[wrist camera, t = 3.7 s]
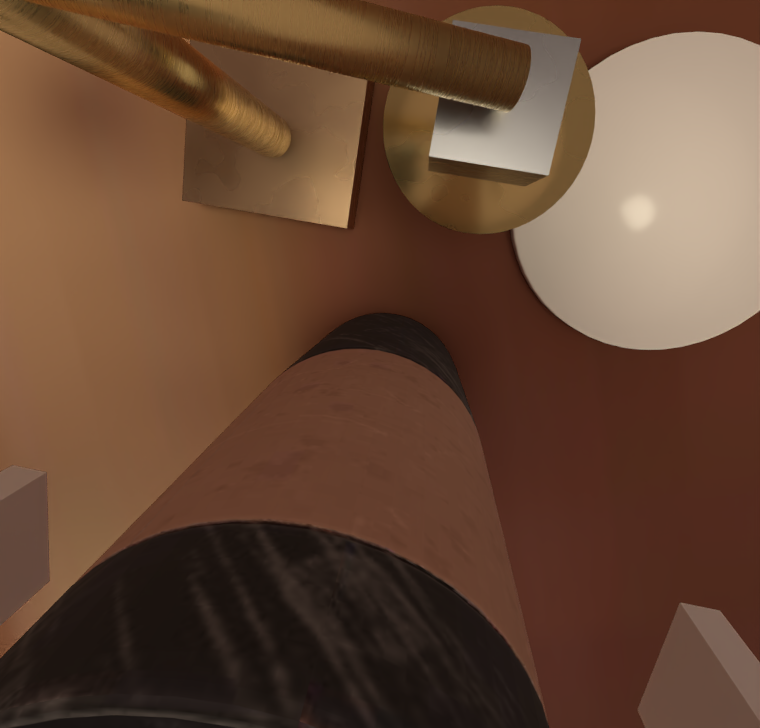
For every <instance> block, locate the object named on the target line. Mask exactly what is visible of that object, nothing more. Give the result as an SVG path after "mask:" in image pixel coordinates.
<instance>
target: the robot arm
mask: <svg viewBox="0 0 760 728" xmlns="http://www.w3.org/2000/svg"><path fill="white" fill-rule="evenodd" d="M49 581H50V579H49V541H48V503H47V472H43V471H39V470H34V469H29V468H24V467H19V466H14V465H12V466H10V467H8V468H6V469H5V470H3V471H1V472H0V625H1V624H2V623H4V622H5V621H6V620H7V619H8V618H9V617H10V616H11V615H12V614H14V613H15V612H16V611H17V610H18V609H19V608H20V607H21V606H22V605H23V604H25V603H26V602H27V601H28V600H29V599H30V598H31V597H32V596H33V595H34V594H36V593H37V592H38V591H39V590H40V589H41V588H42V587H43V586H44V585H46V584H47V583H48V582H49ZM638 712H639V714H640V717H641V719H642V721H643V724H644V726H645V728H760V663H759V661H758V660H757V659H756V657H755V656H754V655H753V653H752V652H751V651H750V649H749V648H748V647H747V645H746V644H745V643H744V641H743V640H742V639H741V638H740V636H739V635H738V634H737V632H736V631H735V630H734V628H733V627H732V626H731V624H730V623H729V622H728V620H727V619H726V618H725V617H724V615H723V614H722V613H721V611H719V610H714V609H709V608H704V607H699V606H695V605H690V604H685V603H680V604H679V606H678V609H677V612H676V614H675V617H674V619H673V622H672V624H671V627H670V629H669V632H668V634H667V637H666V639H665V642H664V644H663V647H662V649H661V652H660V654H659V657H658V659H657V662H656V664H655V667H654V670H653V672H652V675H651V677H650V680H649V682H648V685H647V687H646V690H645V692H644V695H643V697H642V700H641V702H640V705H639V707H638Z"/></svg>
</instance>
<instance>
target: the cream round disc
mask: <svg viewBox="0 0 760 728" xmlns="http://www.w3.org/2000/svg"><path fill="white" fill-rule="evenodd" d="M588 72H589V75H590V78H591V81H592V85H593V91H594V96H595V112H596V113H595V127H594V133H593V138H592V143H591V146H590V149H589V152H588V155H587V158H586V160H585V162H584V164H583V167H582V169H581V171H580V173H579V174H578V176H577V178H576V179H575V181H574V182H573V184H572V185H571V187H570V188H569V189H568V190H567V192H566V193H565V194H564V195H563V196H562V197H561V198H560V199H559V200H558V201H557V202H556V203H555V204H554V205H553V206H552V207H551V208H550V209H548V210H547V211H546V212H545V213H543V214H542V215H540V216H539V217H537V218H535V219H534V220H532V221H530V222H528V223H526V224H524V225H522V226H519V227H517V228H514V229H510V232H511V240H512V244H513V248H514V253H515V257H516V259H517V262H518V264H519V267H520V270H521V272H522V274H523V276H524V278H525V279H526V281H527V283H528V285H529V287H530V288H531V290H532V291H533V292H534V294H535V295H536V296H537V298H538V299H539V300H540V301H541V302H542V303H543V304H544V305H545V306H546V307H547V308H548V309H549V310H550V311H551V312H552V313H553V314H554V315H555V316H557V317H558V318H559V319H561V320H562V321H563V322H565V323H566V324H568V325H569V326H571V327H572V328H574V329H576V330H578V331H579V332H581V333H583V334H585V335H587V336H588V337H591V338H593V339H596V340H599V341H601V342H604V343H607V344H611V345H615V346H619V347H623V348H631V349H640V350H660V349H669V348H676V347H682V346H686V345H690V344H694V343H698V342H702V341H704V340H707V339H709V338H712V337H715V336H717V335H720V334H722V333H724V332H726V331H728V330H730V329H732V328H734V327H736V326H738V325H739V324H741V323H742V322H744V321H745V320H747V319H748V318H750V317H751V316H753V315H754V314H756V313H757V312H758V311H759V310H760V45H757V44H755V43H752V42H750V41H747V40H745V39H742V38H738V37H734V36H729V35H725V34H721V33H708V32H687V33H674V34H670V35H665V36H660V37H655V38H652V39H649V40H646V41H643V42H640V43H637V44H634V45H632V46H629V47H627V48H625V49H623V50H621V51H619V52H617V53H615V54H613V55H611V56H610V57H608V58H607V59H605V60H603V61H602V62H600V63H599V64H597V65H596V66H594V67H593V68H591V69H590V70H589V71H588Z"/></svg>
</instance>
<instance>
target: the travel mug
mask: <svg viewBox="0 0 760 728" xmlns="http://www.w3.org/2000/svg"><path fill="white" fill-rule="evenodd" d="M0 728H549V725H548V720H547V715H546V711H545V707H544V703H543V699H542V694H541V690H540V686H539V682H538V678H537V674H536V669H535V665H534V661H533V657H532V653H531V649H530V645H529V640H528V636H527V632H526V628H525V624H524V620H523V615H522V611H521V607H520V603H519V599H518V595H517V590H516V586H515V582H514V578H513V574H512V570H511V565H510V561H509V557H508V553H507V549H506V545H505V541H504V536H503V532H502V528H501V524H500V520H499V516H498V511H497V507H496V503H495V499H494V495H493V491H492V486H491V482H490V478H489V474H488V470H487V466H486V461H485V457H484V453H483V449H482V445H481V441H480V438H479V435H478V431H477V428H476V425H475V422H474V419H473V416H472V413H471V410H470V407H469V405H468V402H467V399H466V396H465V393H464V390H463V387H462V385H461V382H460V379H459V376H458V373H457V370H456V368H455V365H454V363H453V361H452V358H451V356H450V354H449V352H448V351H447V349H446V348H445V346H444V344H443V343H442V342H441V341H440V340H439V338H438V337H437V336H436V335H435V334H434V333H433V332H431V331H430V330H429V329H428V328H426V327H425V326H423V325H422V324H420V323H418V322H416V321H414V320H412V319H410V318H407V317H404V316H400V315H396V314H387V313H376V314H369V315H364V316H360V317H357V318H354V319H352V320H350V321H348V322H346V323H344V324H343V325H341V326H339V327H338V328H336V329H335V330H334V331H332V332H331V333H330V334H329V335H327V336H326V337H325V338H324V339H323V340H321V341H320V342H319V343H318V344H317V345H315V346H314V347H313V348H312V349H311V350H309V351H308V352H307V353H306V354H305V355H303V356H302V357H301V358H300V359H299V360H297V361H296V362H295V363H294V364H293V365H291V366H290V367H289V368H288V369H287V370H285V371H284V372H283V373H282V374H281V375H280V376H278V377H277V378H276V379H275V380H274V381H273V382H272V383H271V384H270V385H269V386H268V387H267V388H266V389H265V390H264V391H263V392H262V393H261V394H260V395H259V396H258V397H257V398H256V399H255V400H254V401H253V402H252V403H251V404H250V405H249V406H248V407H247V408H246V409H245V410H244V411H243V412H242V413H241V414H240V415H239V416H238V417H237V418H236V419H235V420H234V421H233V422H232V423H231V424H230V425H229V426H228V428H227V429H226V430H225V431H224V432H223V433H222V434H221V435H220V436H219V437H218V438H217V439H216V440H215V441H214V442H213V443H212V444H211V445H210V446H209V447H208V448H207V449H206V450H205V451H204V452H203V453H202V454H201V455H200V456H199V457H198V458H197V459H196V460H195V461H194V462H193V463H192V464H191V465H190V466H189V467H188V468H187V469H186V470H185V471H184V472H183V473H182V474H181V475H180V476H179V477H178V478H177V479H176V480H175V481H174V482H173V483H172V485H171V486H170V487H169V488H168V489H167V490H166V491H165V492H164V493H163V494H162V495H161V496H160V497H159V498H158V499H157V500H156V501H155V502H154V503H153V504H152V505H151V506H150V507H149V508H148V509H147V510H146V511H145V512H144V513H143V514H142V515H141V516H140V517H139V518H138V519H137V520H136V521H135V522H134V523H133V524H132V525H131V526H130V527H129V528H128V529H127V530H126V531H125V532H124V533H123V534H122V535H121V536H120V537H119V538H118V539H117V540H116V542H115V543H114V544H113V545H112V546H111V547H110V548H109V549H108V550H107V551H106V552H105V553H104V554H103V555H102V556H101V557H100V558H99V559H98V560H97V561H96V562H95V563H94V564H93V565H92V566H91V567H90V568H89V569H88V570H87V571H86V572H85V573H84V574H83V575H82V576H81V577H80V578H79V580H78V581H77V582H76V583H75V584H74V585H72V586H71V587H70V588H69V589H68V590H67V591H66V592H65V593H64V594H63V595H62V596H61V597H60V598H59V599H58V600H57V601H56V602H55V604H54V605H53V606H52V607H51V608H50V609H49V610H48V611H47V612H46V613H45V614H44V615H43V616H42V617H41V618H40V619H39V620H38V621H37V622H36V623H35V624H34V625H33V626H32V627H31V628H30V629H29V630H28V631H27V632H26V633H25V634H24V635H23V636H22V637H21V638H20V639H19V640H18V641H17V642H16V643H15V644H14V645H13V646H12V647H11V648H10V649H9V650H8V651H7V652H6V653H5V654H4V655H3V656H2V657H1V658H0Z"/></svg>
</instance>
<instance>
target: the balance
mask: <svg viewBox="0 0 760 728" xmlns="http://www.w3.org/2000/svg"><path fill="white" fill-rule="evenodd" d="M0 30H1V31H3V32H5V33H7V34H9V35H12V36H14V37H16V38H18V39H20V40H22V41H24V42H26V43H28V44H30V45H32V46H35V47H37V48H39V49H41V50H43V51H45V52H47V53H49V54H51V55H53V56H55V57H58V58H60V59H62V60H64V61H66V62H68V63H70V64H72V65H74V66H76V67H79V68H81V69H83V70H85V71H87V72H89V73H91V74H93V75H95V76H97V77H99V78H102V79H104V80H106V81H108V82H110V83H112V84H114V85H116V86H118V87H120V88H122V89H125V90H127V91H129V92H131V93H133V94H135V95H137V96H139V97H141V98H143V99H146V100H148V101H150V102H152V103H154V104H156V105H158V106H160V107H162V108H164V109H166V110H169V111H171V112H173V113H175V114H177V115H179V116H181V117H183V118H185V119H186V136H185V156H184V176H183V196H182V200H183V201H188V202H194V203H200V204H206V205H212V206H218V207H224V208H230V209H236V210H242V211H248V212H253V213H259V214H265V215H271V216H277V217H283V218H289V219H295V220H301V221H307V222H313V223H319V224H324V225H330V226H336V227H342V228H350V229H354V223H355V216H356V209H357V202H358V195H359V188H360V181H361V174H362V167H363V160H364V153H365V146H366V139H367V132H368V125H369V118H370V111H371V104H372V97H373V90H374V83H375V82H376V83H381V84H385V85H389V86H390V89H389V92H388V95H387V100H386V104H385V109H384V120H383V139H384V146H385V152H386V156H387V160H388V163H389V167H390V169H391V172H392V174H393V176H394V179H395V181H396V182H397V184H398V186H399V188H400V189H401V191H402V193H403V194H404V195H405V197H406V198H407V199H408V200H409V202H410V203H411V204H412V205H413V206H414V207H415V208H416V209H417V210H418V211H419V212H420V213H422V214H423V215H424V216H426V217H427V218H428V219H430V220H431V221H433V222H435V223H437V224H439V225H441V226H443V227H446V228H448V229H451V230H454V231H459V232H463V233H472V234H491V233H497V232H503V231H507V230H510V229H514V228H517V227H519V226H522V225H524V224H526V223H528V222H530V221H532V220H534V219H535V218H537V217H539V216H540V215H542V214H543V213H545V212H546V211H547V210H548V209H550V208H551V207H552V206H553V205H554V204H555V203H556V202H557V201H558V200H559V199H560V198H561V197H562V196H563V195H564V194H565V193H566V192H567V190H568V189H569V188H570V187H571V185H572V184H573V182H574V181H575V179H576V178H577V176H578V174H579V173H580V171H581V169H582V167H583V164H584V162H585V160H586V158H587V155H588V152H589V149H590V146H591V143H592V138H593V133H594V127H595V113H596V112H595V96H594V91H593V85H592V81H591V78H590V75H589V72H588V69H587V66H586V64H585V62H584V60H583V58H582V56H581V54H580V53H579V51H578V50H579V46H580V42H581V39H579V38H572V37H567V36H566V35H565V34H564V32H563V31H561V30H560V29H559V28H558V27H556V26H555V25H554V24H553V23H551V22H550V21H548V20H546V19H545V18H543V17H541V16H540V15H537V14H535V13H532V12H530V11H527V10H524V9H520V8H515V7H511V6H484V7H478V8H474V9H470V10H466V11H463V12H461V13H458V14H456V15H453V16H451V17H449V18H448V19H446V20H444V21H442V22H441V21H437V20H433V19H429V18H426V17H422V16H418V15H414V14H411V13H407V12H403V11H399V10H395V9H392V8H388V7H384V6H380V5H376V4H373V3H369V2H365V1H361V0H0ZM182 38H185V39H190V44H189V43H187V42H186V41H185V40H184V39H182Z"/></svg>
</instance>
